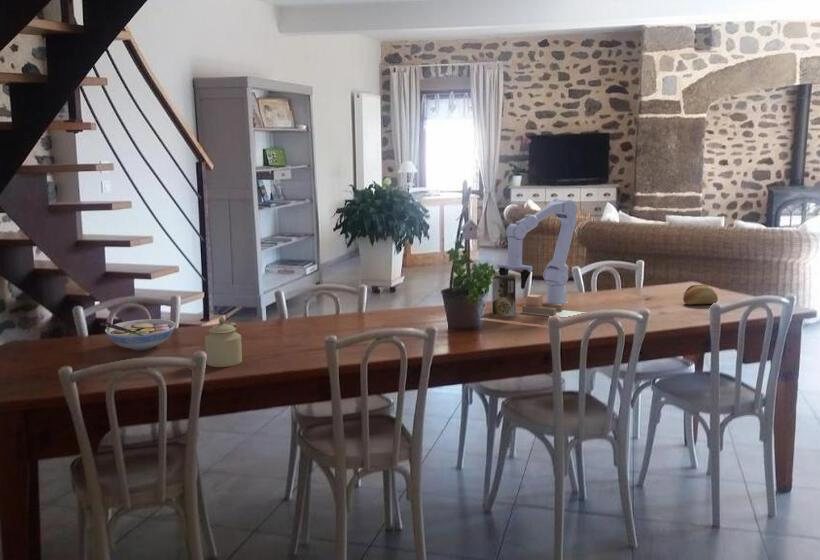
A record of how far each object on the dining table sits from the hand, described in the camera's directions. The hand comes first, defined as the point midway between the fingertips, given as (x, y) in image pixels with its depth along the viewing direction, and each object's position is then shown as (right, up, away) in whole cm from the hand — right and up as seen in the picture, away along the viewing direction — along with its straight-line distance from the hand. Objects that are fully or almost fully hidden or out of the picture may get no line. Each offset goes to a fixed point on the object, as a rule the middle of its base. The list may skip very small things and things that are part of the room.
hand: (513, 287), depth 304 cm
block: (+8, -9, -3) cm, 12 cm away
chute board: (+16, -11, -7) cm, 20 cm away
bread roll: (+79, -7, +10) cm, 80 cm away
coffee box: (-5, -12, -9) cm, 15 cm away
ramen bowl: (-133, -20, -47) cm, 143 cm away
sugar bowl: (-101, -23, -64) cm, 122 cm away
